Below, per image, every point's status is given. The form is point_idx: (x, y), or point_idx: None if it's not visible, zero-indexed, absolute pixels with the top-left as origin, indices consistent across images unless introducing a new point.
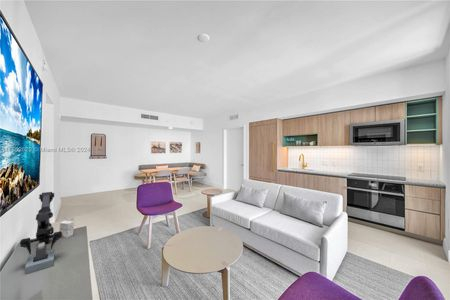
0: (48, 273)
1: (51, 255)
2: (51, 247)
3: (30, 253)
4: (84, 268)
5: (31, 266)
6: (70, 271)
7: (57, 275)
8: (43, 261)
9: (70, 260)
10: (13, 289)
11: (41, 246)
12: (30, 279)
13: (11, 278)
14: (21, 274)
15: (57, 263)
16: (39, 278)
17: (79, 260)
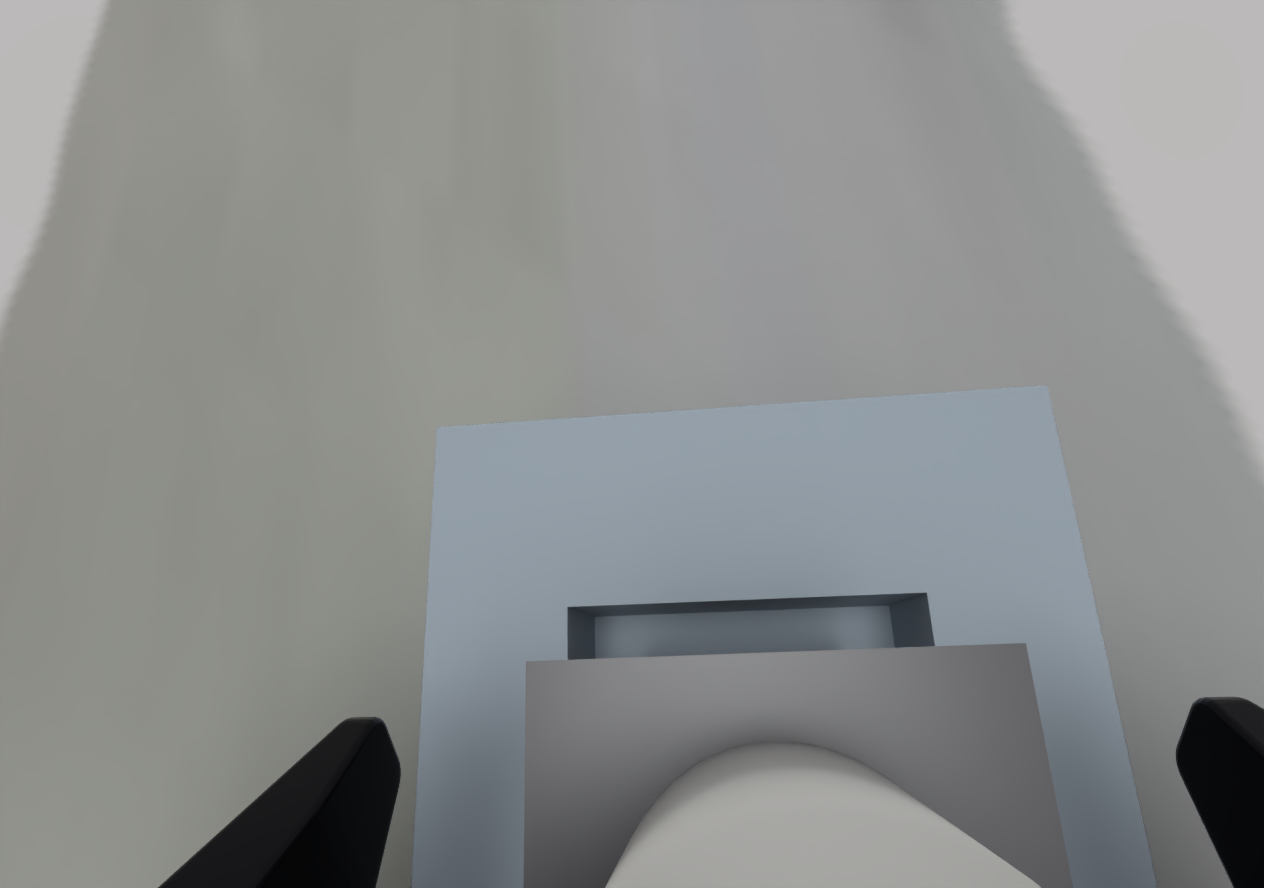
0: (562, 218)
1: (478, 765)
2: (320, 760)
3: (1230, 711)
4: (106, 68)
5: (898, 402)
6: (275, 92)
7: (441, 81)
8: (653, 465)
9: (202, 496)
10: (990, 32)
11: (772, 755)
12: (813, 185)
13: (1191, 430)
14: None
15: (421, 529)
16: (680, 138)
17: (83, 381)
